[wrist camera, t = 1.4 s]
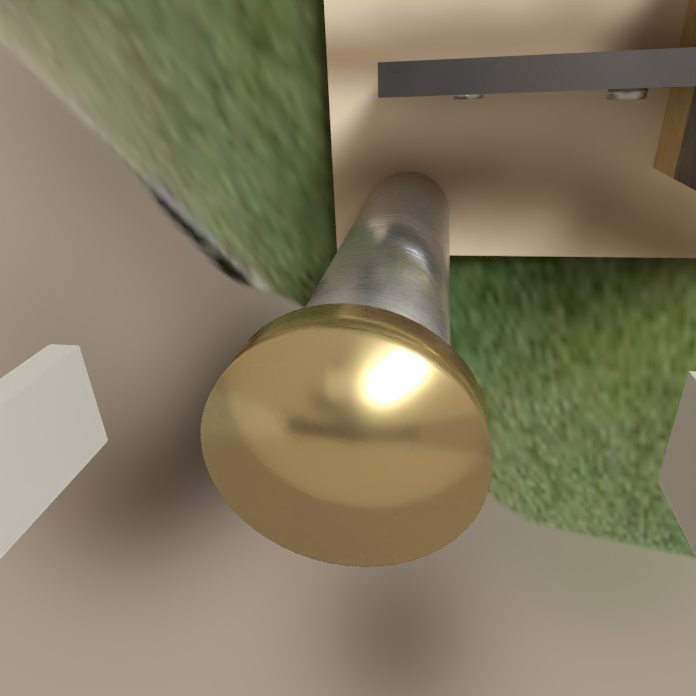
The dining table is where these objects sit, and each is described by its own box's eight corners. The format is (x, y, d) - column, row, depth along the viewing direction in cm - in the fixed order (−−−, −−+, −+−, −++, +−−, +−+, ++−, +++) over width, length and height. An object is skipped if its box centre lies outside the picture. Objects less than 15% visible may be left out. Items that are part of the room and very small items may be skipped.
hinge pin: (349, 156, 25) (175, 327, 9) (468, 154, 24) (506, 338, 8) (353, 267, 27) (223, 552, 12) (461, 269, 26) (480, 580, 11)
